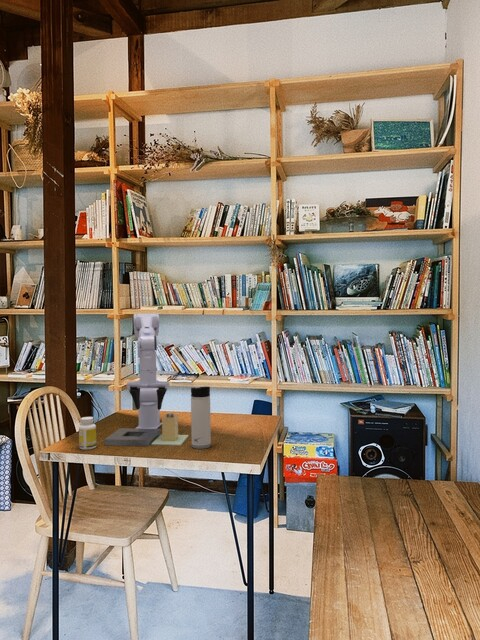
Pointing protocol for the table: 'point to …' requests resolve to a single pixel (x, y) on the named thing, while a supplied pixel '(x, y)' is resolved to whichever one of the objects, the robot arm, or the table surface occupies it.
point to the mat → (178, 442)
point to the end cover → (169, 427)
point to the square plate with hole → (133, 437)
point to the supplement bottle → (87, 433)
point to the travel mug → (200, 417)
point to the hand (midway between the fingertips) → (148, 409)
